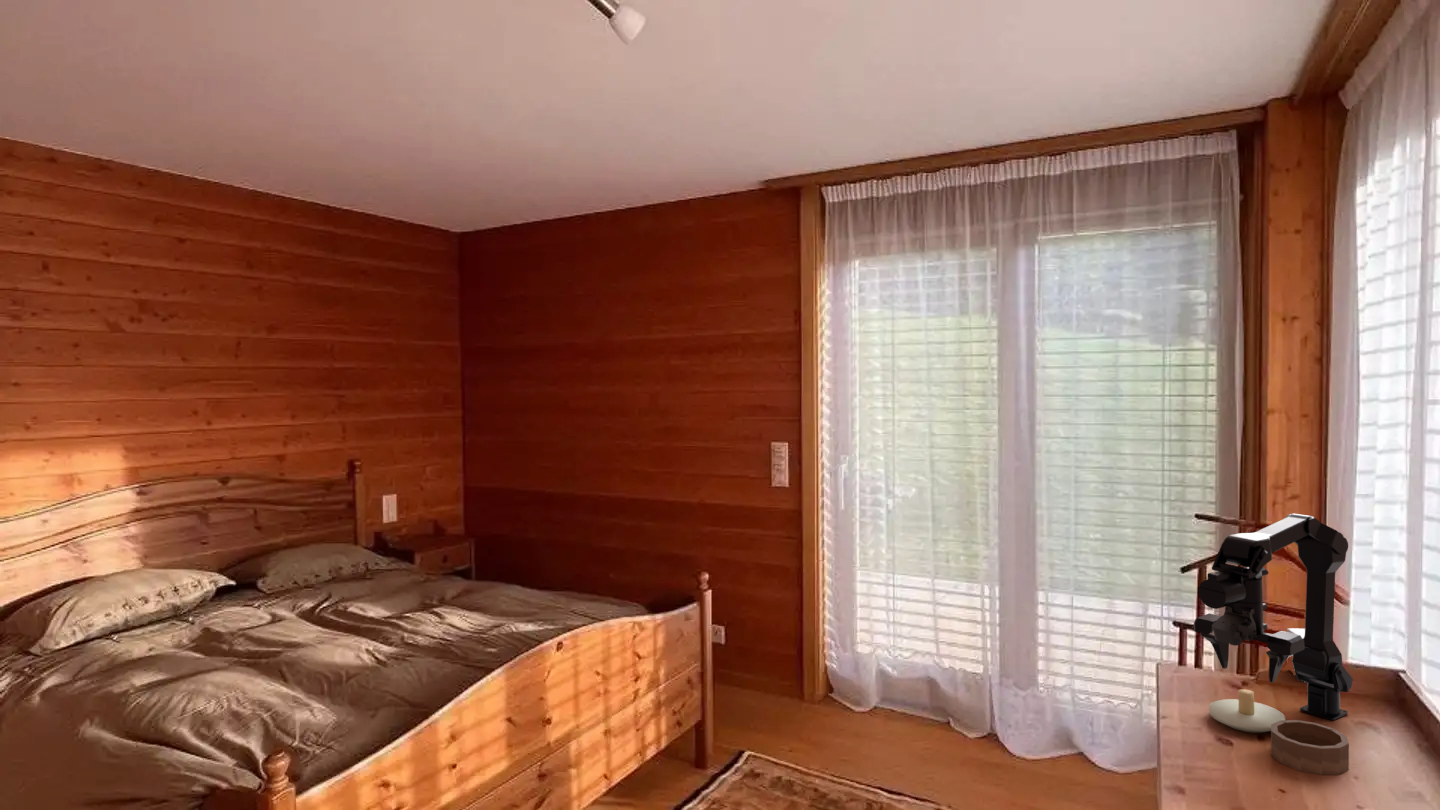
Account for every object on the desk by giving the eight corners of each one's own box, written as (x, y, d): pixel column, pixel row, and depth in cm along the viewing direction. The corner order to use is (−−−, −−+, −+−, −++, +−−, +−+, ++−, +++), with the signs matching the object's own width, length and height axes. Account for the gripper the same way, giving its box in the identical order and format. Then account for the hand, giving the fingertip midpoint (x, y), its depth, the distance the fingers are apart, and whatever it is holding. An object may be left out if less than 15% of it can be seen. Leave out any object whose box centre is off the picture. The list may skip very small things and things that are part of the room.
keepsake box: (1292, 739, 169) (1292, 715, 169) (1360, 763, 159) (1360, 737, 158) (1258, 755, 164) (1258, 730, 163) (1327, 781, 153) (1326, 754, 153)
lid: (1232, 705, 186) (1232, 674, 186) (1299, 727, 174) (1298, 695, 174) (1195, 720, 180) (1195, 688, 180) (1261, 744, 168) (1261, 710, 168)
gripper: (1176, 596, 173) (1179, 670, 174) (1273, 619, 156) (1275, 700, 157) (1208, 586, 178) (1210, 658, 179) (1305, 606, 162) (1306, 685, 163)
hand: (1247, 675), depth 170 cm, fingers open, 9 cm apart
